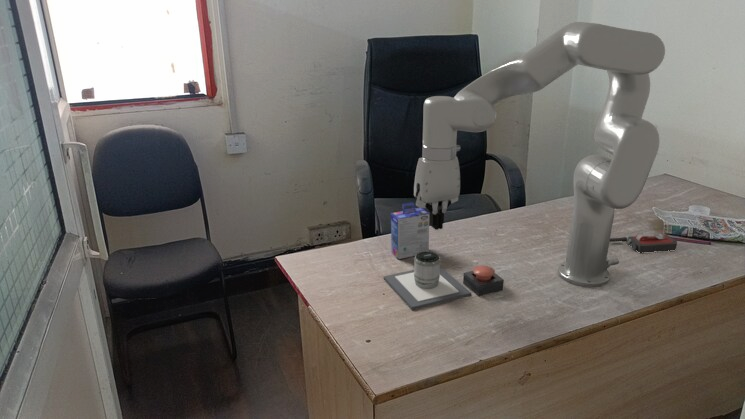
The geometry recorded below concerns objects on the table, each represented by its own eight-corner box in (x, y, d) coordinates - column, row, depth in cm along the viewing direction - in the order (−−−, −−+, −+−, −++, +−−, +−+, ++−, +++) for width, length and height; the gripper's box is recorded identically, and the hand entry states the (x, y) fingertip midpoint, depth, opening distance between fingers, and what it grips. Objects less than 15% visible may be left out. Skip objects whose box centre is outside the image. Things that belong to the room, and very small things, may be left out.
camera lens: (409, 280, 135) (410, 252, 132) (431, 275, 137) (432, 247, 134) (421, 292, 129) (422, 262, 127) (444, 286, 132) (445, 257, 129)
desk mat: (438, 267, 143) (438, 263, 143) (471, 295, 130) (471, 292, 129) (383, 279, 138) (383, 275, 137) (411, 310, 124) (411, 306, 124)
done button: (486, 273, 136) (486, 264, 135) (498, 282, 132) (499, 273, 131) (468, 277, 134) (469, 268, 133) (480, 286, 130) (480, 277, 129)
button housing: (486, 277, 138) (487, 267, 137) (502, 290, 132) (503, 279, 131) (463, 283, 135) (463, 272, 134) (478, 296, 129) (479, 285, 128)
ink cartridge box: (420, 245, 156) (421, 199, 150) (429, 253, 151) (431, 205, 146) (389, 251, 152) (389, 204, 147) (398, 260, 148) (398, 211, 142)
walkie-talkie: (661, 239, 159) (597, 243, 157) (664, 225, 158) (600, 229, 156) (680, 252, 151) (613, 256, 149) (684, 238, 150) (616, 242, 148)
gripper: (459, 145, 127) (455, 216, 133) (401, 152, 121) (401, 226, 128) (476, 152, 120) (471, 228, 127) (417, 160, 115) (415, 238, 122)
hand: (436, 227), depth 128 cm, fingers closed
